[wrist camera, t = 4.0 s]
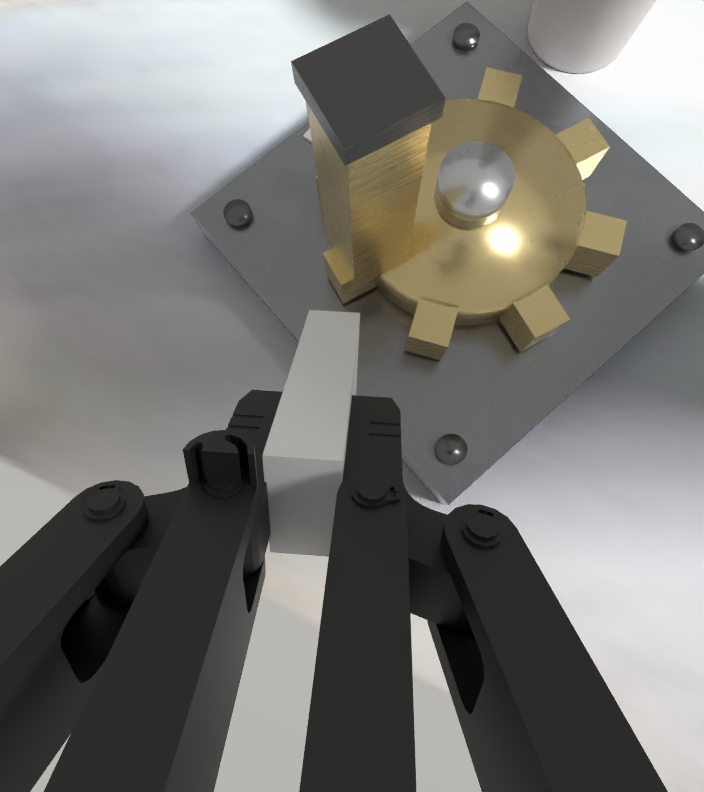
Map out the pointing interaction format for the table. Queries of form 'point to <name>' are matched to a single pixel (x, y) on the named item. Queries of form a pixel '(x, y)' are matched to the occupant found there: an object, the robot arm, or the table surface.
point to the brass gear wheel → (415, 185)
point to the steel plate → (474, 350)
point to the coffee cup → (583, 31)
